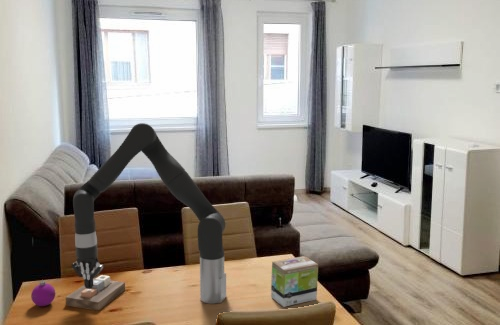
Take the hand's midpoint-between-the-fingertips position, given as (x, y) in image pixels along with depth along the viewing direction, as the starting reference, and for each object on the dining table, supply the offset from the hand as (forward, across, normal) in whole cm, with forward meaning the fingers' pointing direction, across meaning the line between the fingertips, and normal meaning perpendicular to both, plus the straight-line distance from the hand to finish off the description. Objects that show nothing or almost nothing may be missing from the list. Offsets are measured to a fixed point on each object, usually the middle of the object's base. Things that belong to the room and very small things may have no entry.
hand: (89, 287), depth 176 cm
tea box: (+7, -73, -25) cm, 77 cm away
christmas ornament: (+6, +15, +6) cm, 18 cm away
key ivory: (+3, 0, -9) cm, 10 cm away
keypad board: (+6, 0, -5) cm, 7 cm away
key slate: (+3, 0, -5) cm, 5 cm away
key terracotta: (+4, 0, 0) cm, 4 cm away
